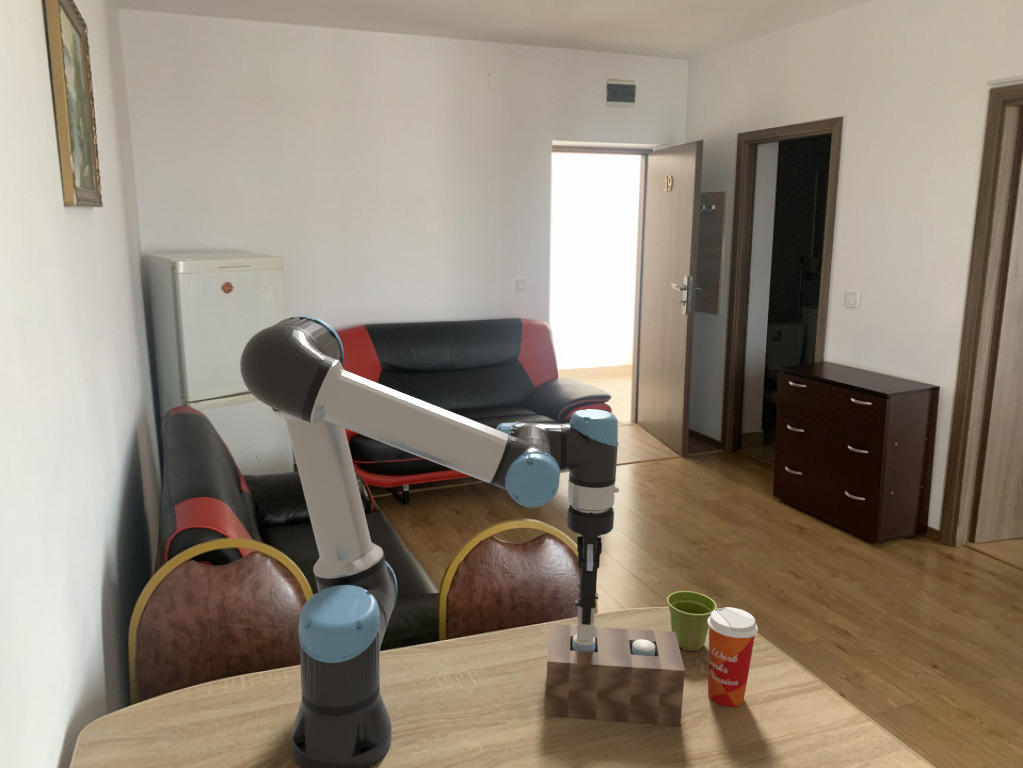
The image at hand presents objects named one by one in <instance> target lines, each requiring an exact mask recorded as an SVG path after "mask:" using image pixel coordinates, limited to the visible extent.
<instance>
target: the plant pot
mask: <svg viewBox="0 0 1023 768" xmlns="http://www.w3.org/2000/svg"><path fill="white" fill-rule="evenodd" d="M666 603H667V605H668V608H669V612H670V625H671V626H670V627H671V632H675V633H676V637H677V641H678V645H679V648H681V649H682V650H684V651H689V652H696V651H700V650H701V649H702V648H703V647H704V646H705V643H706V639H707V634H708V632H709V625H708V618H709V617H710V616H711V613H712V612H713V611H714V610H715V611H717V610H716V609H718V608H717V607H718V605H717V603H716V602H715V600H713V598H711V597H709V596H707V595H706V594H703V593H699V592H697V591H691V590H690V591H689V590H679V591H675V592H672V593H670V594H668V596H667V597H666Z"/></svg>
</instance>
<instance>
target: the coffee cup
mask: <svg viewBox="0 0 1023 768" xmlns="http://www.w3.org/2000/svg"><path fill="white" fill-rule="evenodd" d="M708 625H709V627H708V658H707V659H708V660H707V662H708V668H707V694H708V697H709V699H710V700H711V701H712V702H713V703H715V704H717V705H719V706H722V707H725V708H726V707H727V708H735V707H739V706H740V705H742V704H743V703H744V700H745V695H746V689H747V684H748V678H749V673H750V672H749V671H750V667H751V666H750V665H751V661H752V655H753V648H754V642H755V636H756V635H757V632H758V631H759V629H758V625H757V623H756V619H755V617H754V616H753V615H752V614H751V613H750V612H748V611H746V610H743V609H741V608H735V607H731V606H729V607H728V606H727V607H725V606H724V607H721V608H717V609H716V611H715V610H714V611H713V612H712V613H711V616H710V617H709V618H708Z"/></svg>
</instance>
